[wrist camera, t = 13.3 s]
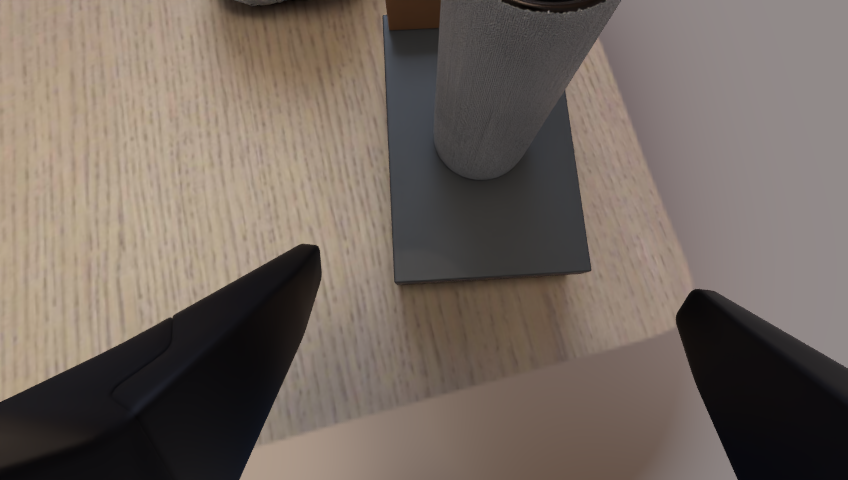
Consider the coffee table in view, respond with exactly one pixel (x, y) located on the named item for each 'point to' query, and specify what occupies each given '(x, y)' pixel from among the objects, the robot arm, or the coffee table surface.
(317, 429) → the coffee table surface
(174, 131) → the coffee table surface
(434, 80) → the stand with wooden pole
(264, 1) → the decorative stone
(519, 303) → the coffee table surface
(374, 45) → the coffee table surface
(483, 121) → the planter
